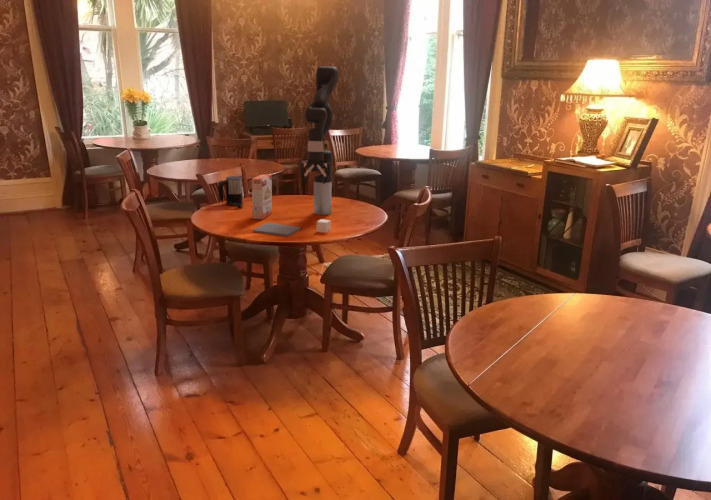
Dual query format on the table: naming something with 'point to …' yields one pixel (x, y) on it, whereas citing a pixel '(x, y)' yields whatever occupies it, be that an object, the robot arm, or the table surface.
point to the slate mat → (277, 229)
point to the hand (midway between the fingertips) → (315, 183)
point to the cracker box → (262, 196)
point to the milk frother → (231, 190)
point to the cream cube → (323, 225)
